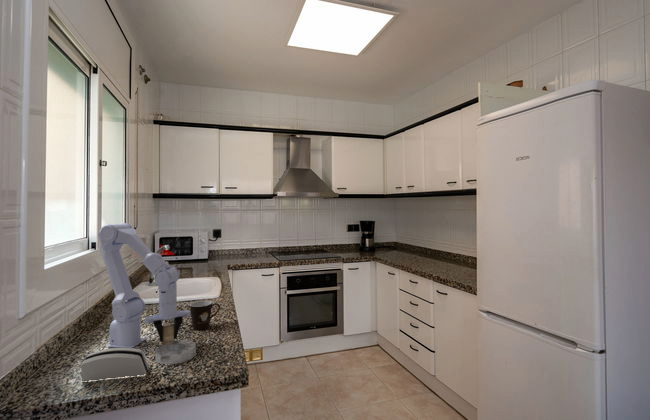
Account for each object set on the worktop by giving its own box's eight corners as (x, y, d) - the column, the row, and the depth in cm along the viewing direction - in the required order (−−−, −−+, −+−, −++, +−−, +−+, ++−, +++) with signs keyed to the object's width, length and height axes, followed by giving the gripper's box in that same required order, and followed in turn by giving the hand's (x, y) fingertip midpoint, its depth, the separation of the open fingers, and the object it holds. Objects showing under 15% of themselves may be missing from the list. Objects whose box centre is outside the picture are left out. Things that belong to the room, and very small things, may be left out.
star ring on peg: (147, 364, 103) (147, 354, 103) (169, 348, 115) (169, 339, 115) (183, 366, 102) (183, 356, 101) (202, 349, 113) (202, 340, 113)
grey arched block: (151, 368, 100) (147, 342, 97) (146, 380, 96) (142, 354, 93) (89, 374, 97) (83, 347, 93) (82, 387, 92) (75, 360, 89)
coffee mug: (188, 332, 129) (188, 307, 129) (191, 325, 137) (191, 301, 137) (219, 329, 132) (219, 304, 132) (220, 322, 140) (220, 299, 140)
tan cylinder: (159, 347, 116) (159, 327, 116) (166, 342, 120) (166, 323, 120) (170, 347, 115) (170, 327, 115) (176, 343, 119) (176, 323, 119)
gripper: (145, 308, 110) (146, 348, 110) (191, 301, 118) (191, 339, 118) (144, 303, 116) (144, 341, 116) (188, 297, 124) (188, 332, 124)
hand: (168, 339), depth 117 cm, fingers closed on tan cylinder, 4 cm apart
